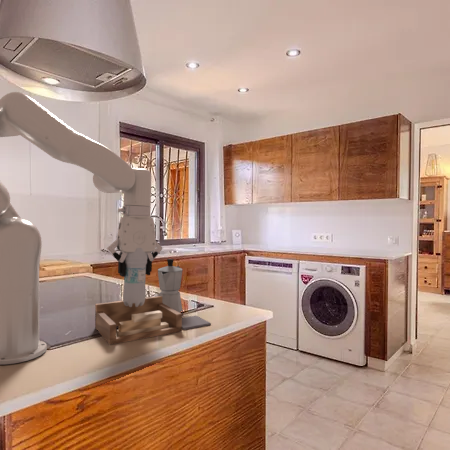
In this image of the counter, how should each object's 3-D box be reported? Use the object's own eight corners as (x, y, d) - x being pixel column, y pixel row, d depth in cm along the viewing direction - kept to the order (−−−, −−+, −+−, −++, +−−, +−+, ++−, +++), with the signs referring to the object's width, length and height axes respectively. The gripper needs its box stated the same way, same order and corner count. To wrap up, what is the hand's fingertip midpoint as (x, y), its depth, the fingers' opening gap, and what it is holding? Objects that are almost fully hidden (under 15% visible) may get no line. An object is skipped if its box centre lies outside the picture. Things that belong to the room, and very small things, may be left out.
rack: (109, 344, 89) (109, 317, 89) (95, 328, 102) (95, 303, 101) (181, 331, 100) (181, 306, 100) (160, 317, 113) (160, 295, 112)
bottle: (139, 309, 97) (142, 236, 97) (117, 306, 98) (119, 235, 98) (149, 303, 104) (152, 235, 103) (128, 301, 105) (130, 234, 105)
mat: (183, 329, 101) (183, 327, 101) (170, 321, 109) (170, 319, 109) (210, 324, 106) (210, 322, 106) (196, 317, 114) (196, 315, 114)
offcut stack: (119, 340, 92) (119, 318, 92) (116, 337, 94) (116, 316, 94) (168, 331, 100) (169, 311, 100) (165, 328, 102) (165, 309, 102)
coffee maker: (175, 318, 112) (175, 261, 111) (149, 316, 114) (149, 260, 113) (190, 306, 126) (191, 256, 126) (167, 304, 128) (167, 255, 128)
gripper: (109, 211, 93) (107, 279, 93) (170, 213, 102) (168, 275, 103) (102, 211, 99) (100, 275, 99) (160, 213, 108) (158, 271, 109)
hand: (135, 274), depth 101 cm, fingers closed on bottle, 6 cm apart
